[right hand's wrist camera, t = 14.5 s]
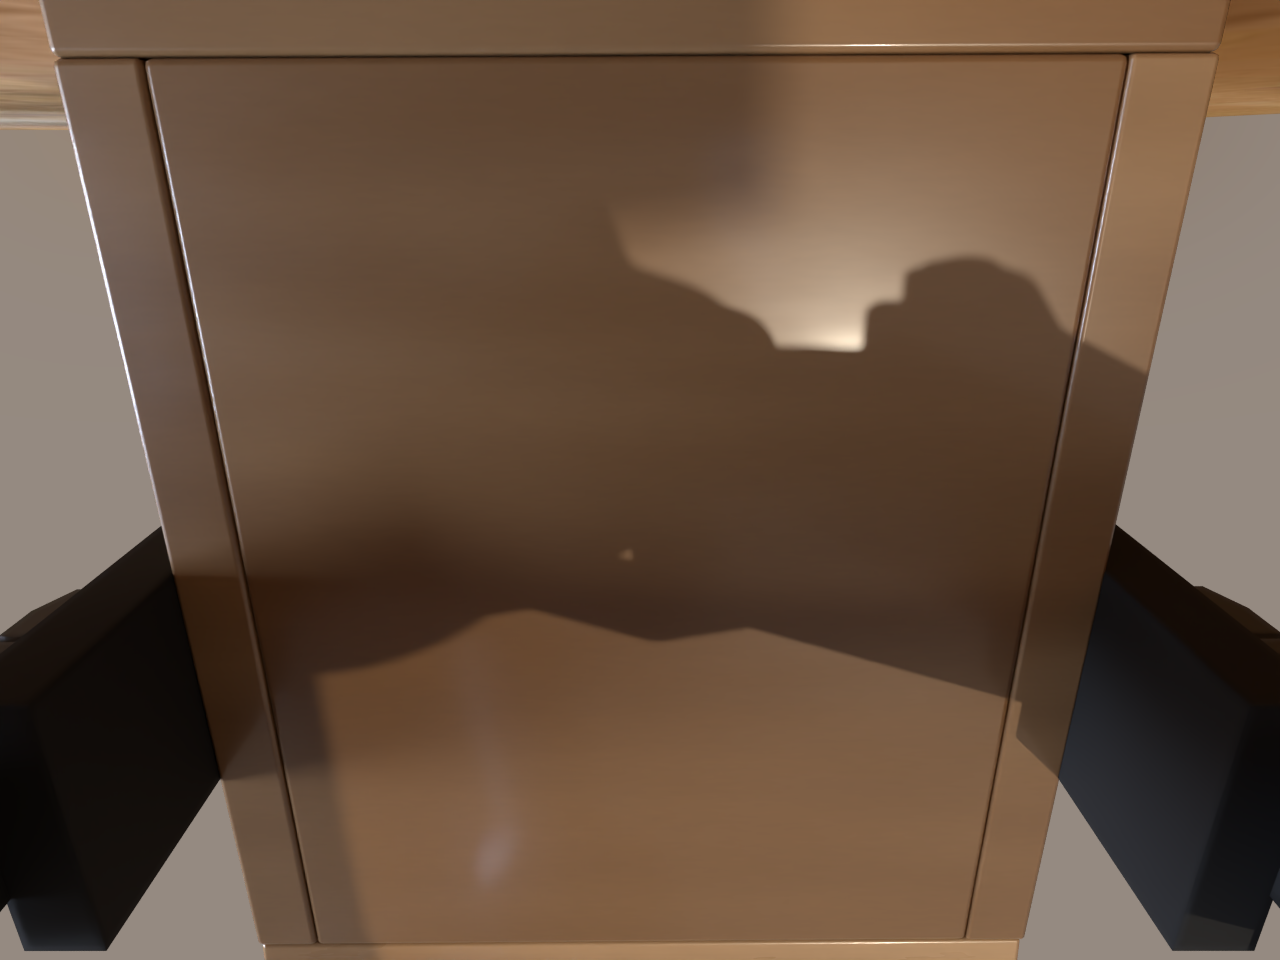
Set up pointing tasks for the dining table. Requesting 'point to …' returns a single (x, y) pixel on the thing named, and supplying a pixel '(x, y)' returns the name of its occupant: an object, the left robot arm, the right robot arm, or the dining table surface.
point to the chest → (637, 436)
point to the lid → (660, 950)
